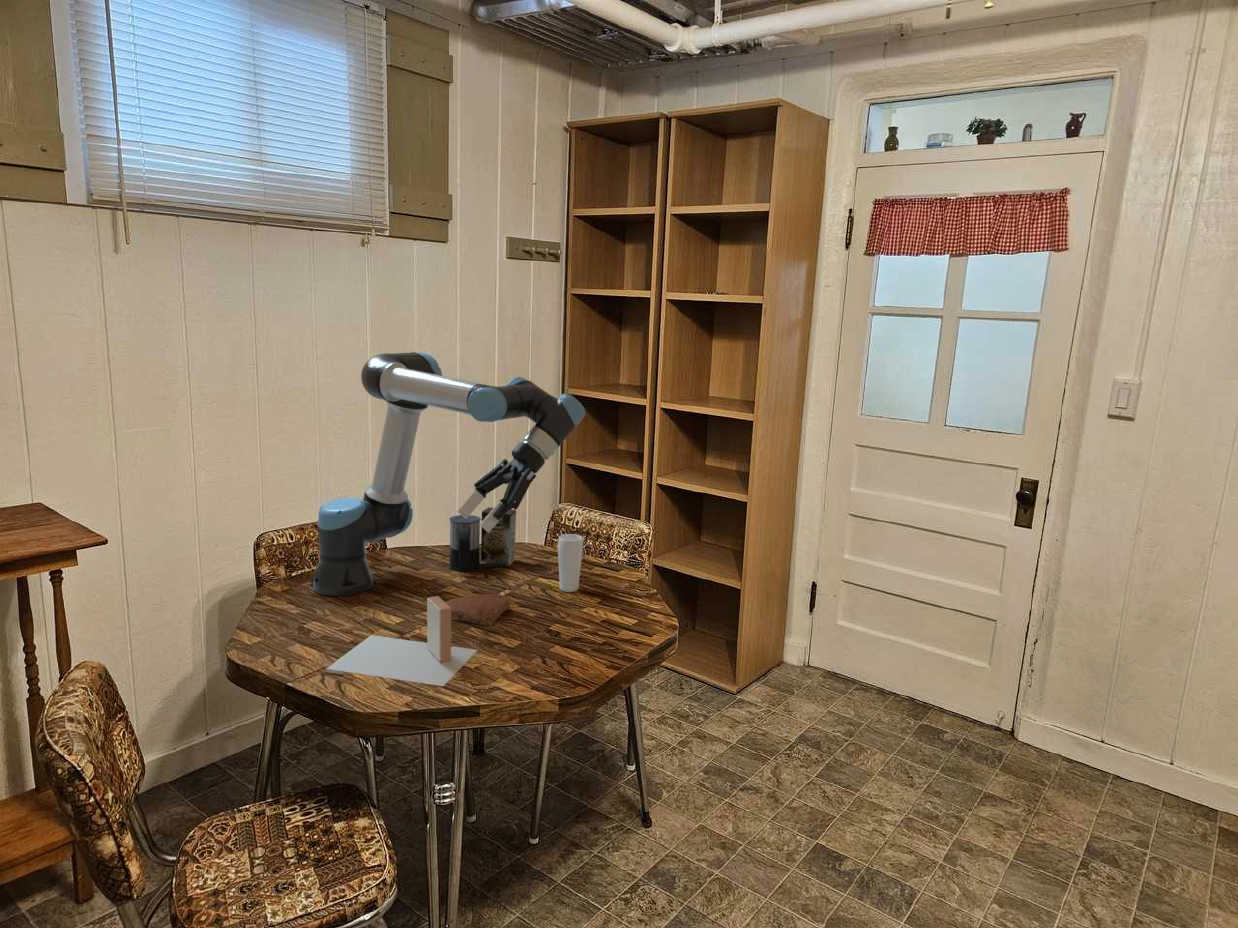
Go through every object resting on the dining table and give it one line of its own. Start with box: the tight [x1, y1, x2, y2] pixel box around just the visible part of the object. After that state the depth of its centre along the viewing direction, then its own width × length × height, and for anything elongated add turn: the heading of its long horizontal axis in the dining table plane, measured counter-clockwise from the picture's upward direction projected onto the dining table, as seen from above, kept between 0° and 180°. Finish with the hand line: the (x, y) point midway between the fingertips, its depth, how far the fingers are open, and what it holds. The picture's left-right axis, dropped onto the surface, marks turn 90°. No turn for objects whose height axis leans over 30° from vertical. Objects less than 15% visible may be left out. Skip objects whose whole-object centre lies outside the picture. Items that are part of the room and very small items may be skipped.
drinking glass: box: [557, 533, 584, 593], centre depth 216 cm, size 7×7×15 cm
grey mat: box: [325, 634, 478, 687], centre depth 168 cm, size 26×18×1 cm
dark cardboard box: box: [480, 507, 517, 567], centre depth 236 cm, size 9×6×16 cm
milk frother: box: [448, 514, 507, 572], centre depth 230 cm, size 14×16×15 cm
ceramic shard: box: [444, 593, 511, 627], centre depth 196 cm, size 15×6×15 cm
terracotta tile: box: [426, 595, 452, 663], centre depth 170 cm, size 2×8×12 cm, turn 33°
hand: (472, 521), depth 176 cm, fingers open, 12 cm apart
